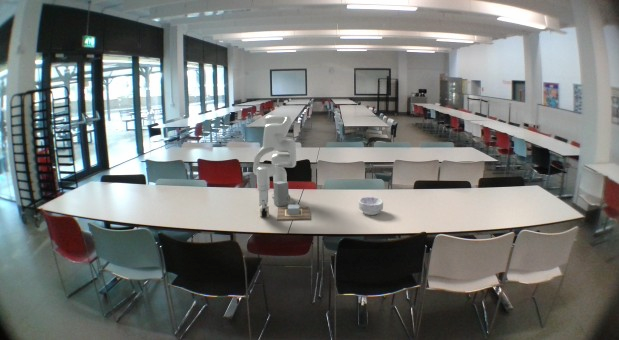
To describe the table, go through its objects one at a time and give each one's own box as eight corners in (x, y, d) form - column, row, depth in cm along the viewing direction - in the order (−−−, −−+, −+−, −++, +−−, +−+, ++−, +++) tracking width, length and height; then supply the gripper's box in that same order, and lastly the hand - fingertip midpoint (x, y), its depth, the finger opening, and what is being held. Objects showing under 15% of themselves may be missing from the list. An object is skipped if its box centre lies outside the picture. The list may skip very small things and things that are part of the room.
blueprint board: (278, 208, 229) (277, 201, 228) (308, 207, 230) (308, 200, 229) (277, 220, 210) (276, 212, 208) (310, 219, 211) (310, 211, 209)
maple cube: (261, 214, 220) (260, 206, 219) (268, 213, 220) (268, 206, 219) (260, 217, 215) (260, 209, 214) (268, 216, 216) (268, 209, 214)
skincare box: (278, 207, 232) (278, 184, 228) (273, 204, 237) (272, 181, 233) (289, 204, 236) (289, 182, 232) (283, 201, 242) (283, 179, 238)
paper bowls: (364, 218, 212) (364, 205, 210) (354, 209, 227) (354, 198, 225) (387, 215, 216) (387, 203, 214) (376, 207, 231) (376, 195, 229)
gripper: (258, 183, 221) (259, 210, 226) (256, 191, 205) (257, 220, 209) (270, 182, 222) (271, 209, 226) (269, 191, 205) (270, 220, 210)
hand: (264, 214), depth 218 cm, fingers closed on maple cube, 5 cm apart
